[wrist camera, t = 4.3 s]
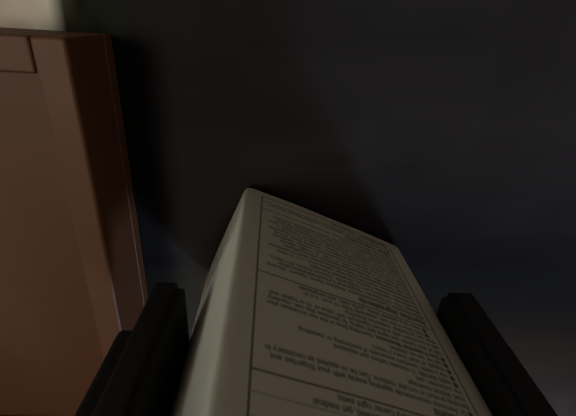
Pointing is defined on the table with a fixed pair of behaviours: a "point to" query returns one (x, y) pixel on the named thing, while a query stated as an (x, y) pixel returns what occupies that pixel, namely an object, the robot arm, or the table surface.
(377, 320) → the cosmetic box
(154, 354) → the robot arm
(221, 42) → the table surface
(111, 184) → the tray
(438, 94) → the table surface
